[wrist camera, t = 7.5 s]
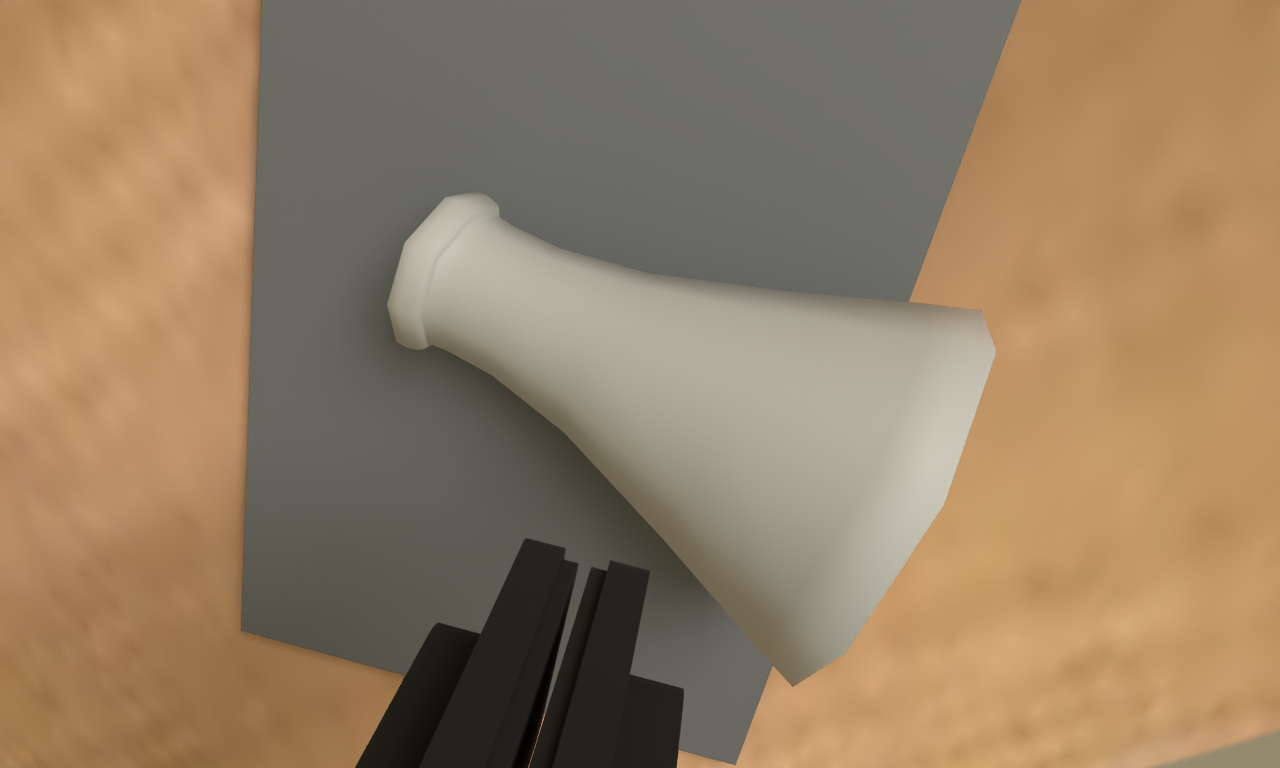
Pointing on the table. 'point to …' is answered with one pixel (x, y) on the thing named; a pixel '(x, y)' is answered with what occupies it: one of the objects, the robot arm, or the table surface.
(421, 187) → the mat
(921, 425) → the flask
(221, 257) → the table surface
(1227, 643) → the table surface
